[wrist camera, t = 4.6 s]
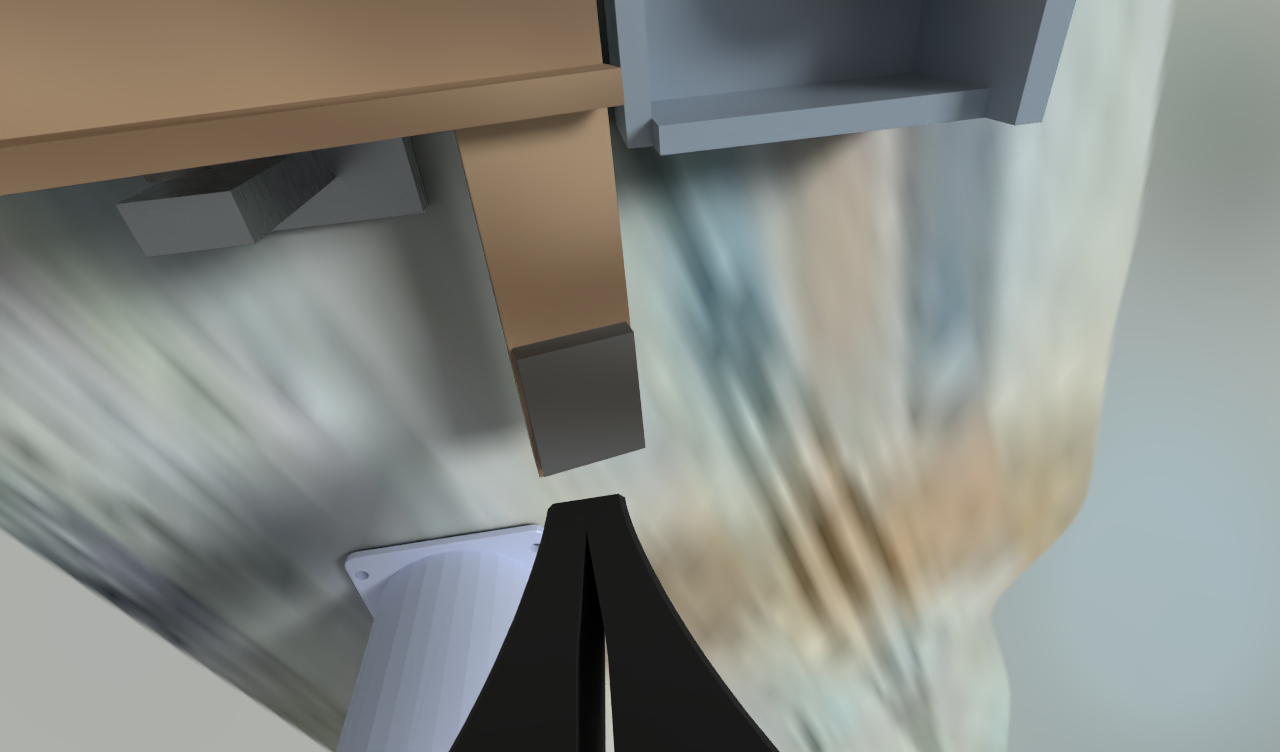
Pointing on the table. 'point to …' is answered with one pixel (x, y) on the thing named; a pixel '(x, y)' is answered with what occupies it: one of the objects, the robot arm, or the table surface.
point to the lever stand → (276, 196)
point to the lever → (365, 112)
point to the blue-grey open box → (826, 66)
